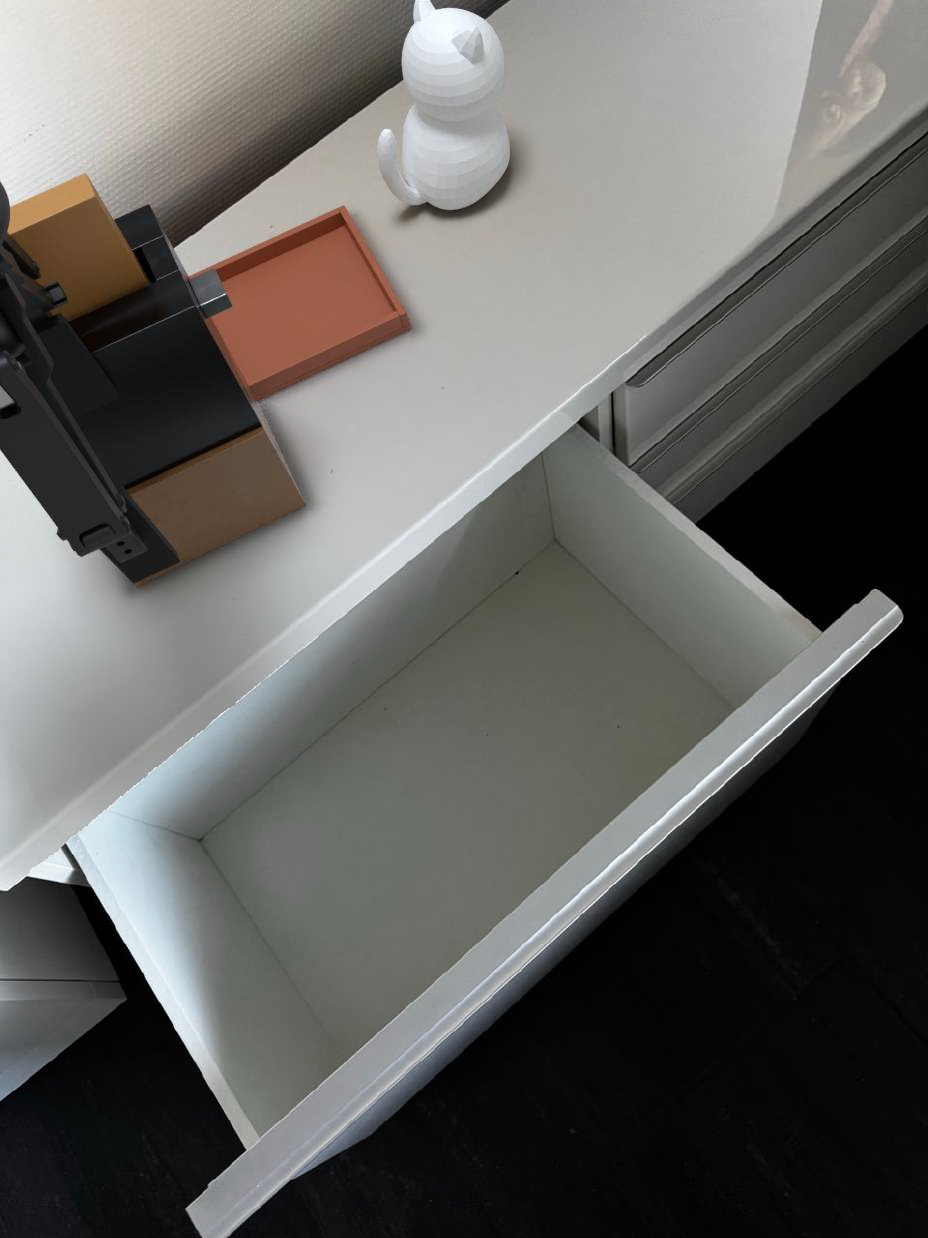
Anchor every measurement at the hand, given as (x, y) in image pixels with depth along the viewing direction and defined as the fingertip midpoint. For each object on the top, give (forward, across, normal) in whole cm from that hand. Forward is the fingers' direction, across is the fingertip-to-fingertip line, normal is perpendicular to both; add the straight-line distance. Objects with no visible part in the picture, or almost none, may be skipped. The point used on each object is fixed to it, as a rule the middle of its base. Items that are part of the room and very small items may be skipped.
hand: (124, 481), depth 57 cm
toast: (+1, +11, -1) cm, 11 cm away
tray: (+18, +24, -14) cm, 33 cm away
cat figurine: (+18, +30, -31) cm, 47 cm away
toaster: (+19, +12, -1) cm, 22 cm away
